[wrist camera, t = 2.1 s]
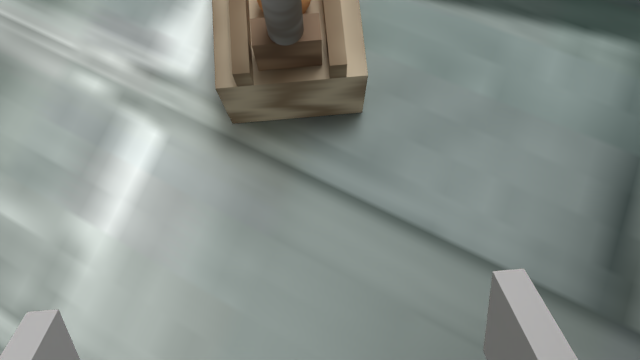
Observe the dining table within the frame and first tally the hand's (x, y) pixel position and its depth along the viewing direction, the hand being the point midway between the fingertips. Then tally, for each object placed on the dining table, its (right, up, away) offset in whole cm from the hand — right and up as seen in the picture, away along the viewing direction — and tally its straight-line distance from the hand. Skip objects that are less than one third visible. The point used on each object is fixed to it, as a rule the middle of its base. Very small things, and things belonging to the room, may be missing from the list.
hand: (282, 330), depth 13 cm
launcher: (-1, +15, +33) cm, 36 cm away
